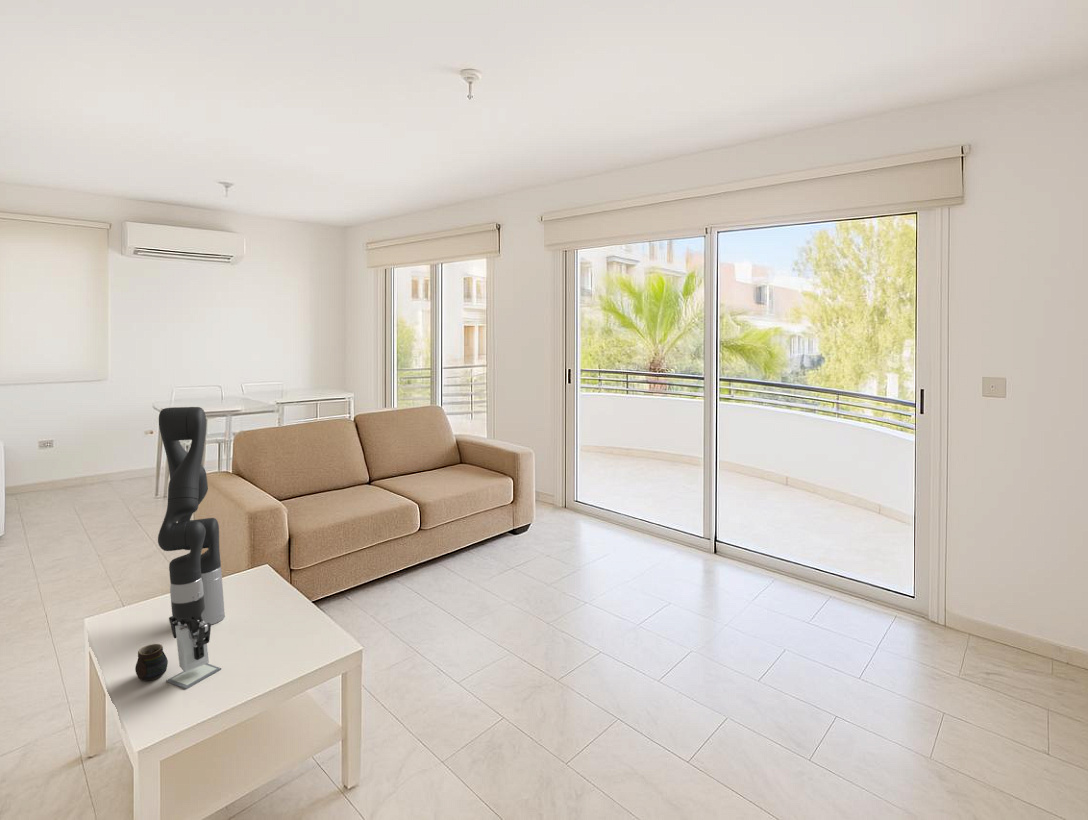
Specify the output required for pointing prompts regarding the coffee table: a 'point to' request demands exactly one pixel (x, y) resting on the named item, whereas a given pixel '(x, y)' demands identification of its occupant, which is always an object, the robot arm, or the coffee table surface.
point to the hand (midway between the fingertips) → (192, 655)
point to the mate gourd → (151, 662)
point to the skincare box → (188, 650)
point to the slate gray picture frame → (193, 676)
